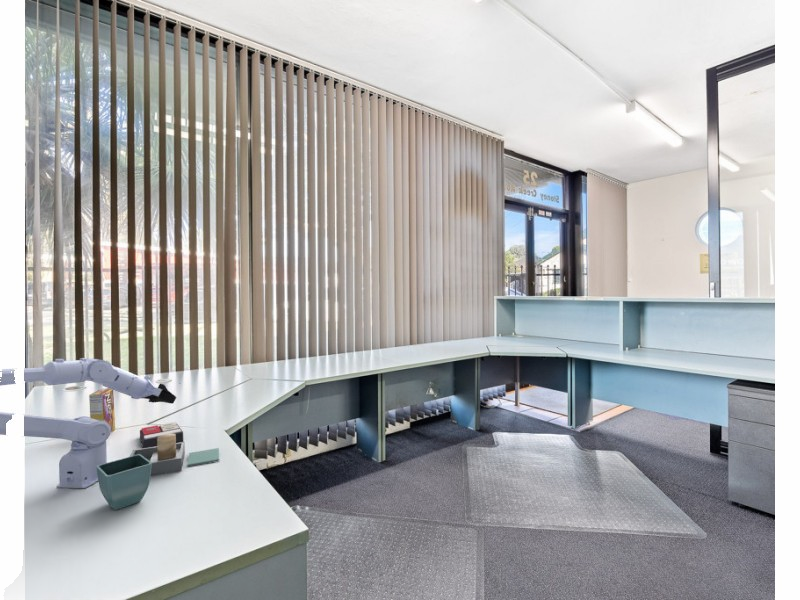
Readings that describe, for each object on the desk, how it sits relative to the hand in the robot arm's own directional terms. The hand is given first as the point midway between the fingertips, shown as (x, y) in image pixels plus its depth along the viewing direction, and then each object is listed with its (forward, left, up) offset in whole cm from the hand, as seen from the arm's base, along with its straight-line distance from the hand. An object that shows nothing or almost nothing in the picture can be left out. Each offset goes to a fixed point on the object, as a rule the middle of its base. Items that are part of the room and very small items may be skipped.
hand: (166, 398), depth 119 cm
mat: (-5, -15, -16) cm, 22 cm away
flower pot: (-30, -11, -16) cm, 36 cm away
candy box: (+12, +32, -16) cm, 38 cm away
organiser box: (-11, -5, -16) cm, 20 cm away
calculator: (+8, +8, -17) cm, 20 cm away
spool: (-10, -7, -14) cm, 18 cm away
